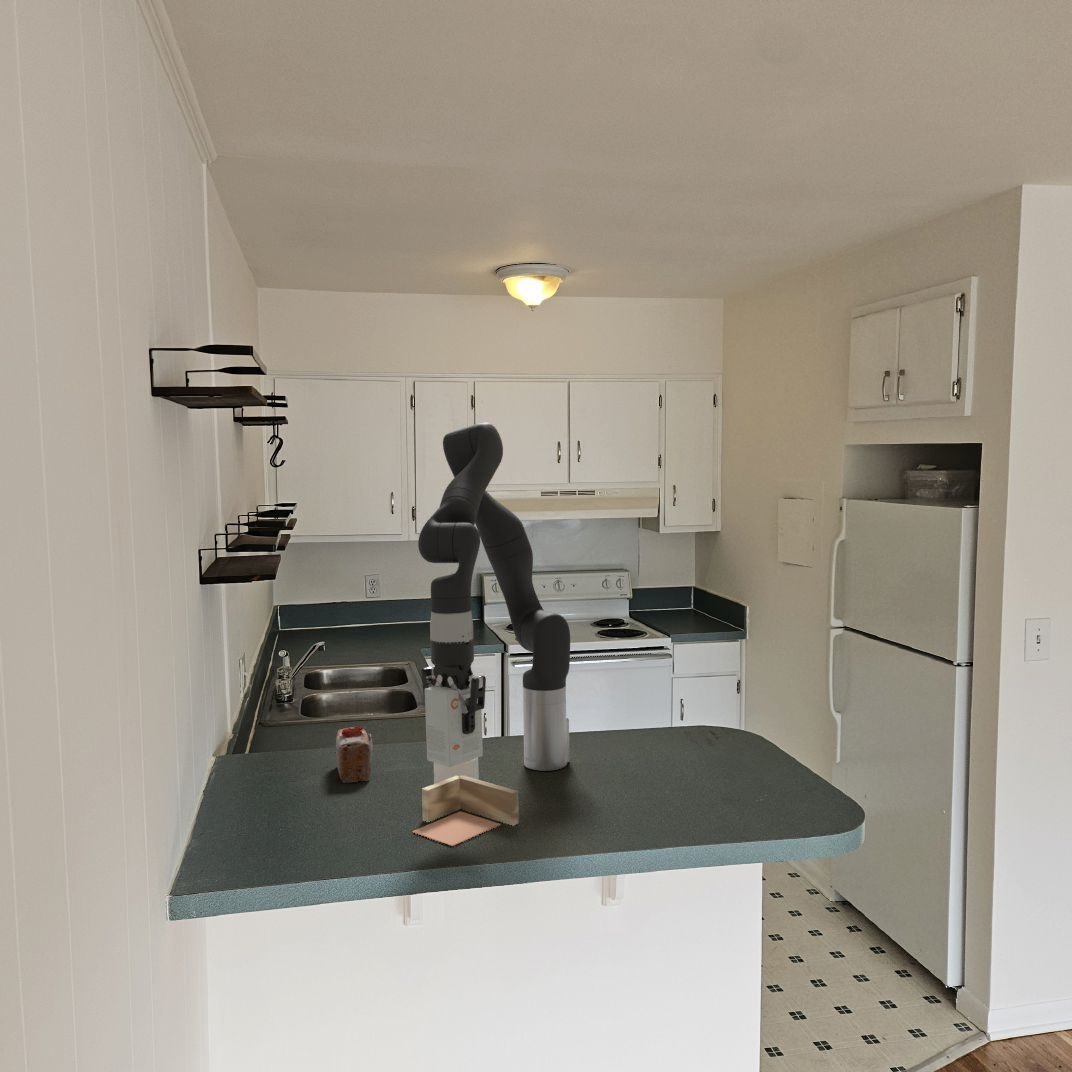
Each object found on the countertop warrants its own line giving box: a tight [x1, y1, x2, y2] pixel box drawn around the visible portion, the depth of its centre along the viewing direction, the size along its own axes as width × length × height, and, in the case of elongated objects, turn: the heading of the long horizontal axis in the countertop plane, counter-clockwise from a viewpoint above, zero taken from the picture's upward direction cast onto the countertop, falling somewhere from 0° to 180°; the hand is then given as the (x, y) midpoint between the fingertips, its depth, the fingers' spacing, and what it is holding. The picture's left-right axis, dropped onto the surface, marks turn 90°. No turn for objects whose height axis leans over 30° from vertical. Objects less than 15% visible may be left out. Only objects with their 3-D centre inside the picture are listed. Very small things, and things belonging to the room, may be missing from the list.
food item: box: [334, 726, 374, 784], centre depth 197 cm, size 14×8×10 cm, turn 15°
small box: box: [424, 686, 484, 767], centre depth 164 cm, size 8×6×13 cm
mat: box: [411, 810, 501, 847], centre depth 165 cm, size 12×10×1 cm
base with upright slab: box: [433, 758, 480, 784], centre depth 188 cm, size 9×9×12 cm
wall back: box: [458, 775, 520, 827], centre depth 171 cm, size 2×14×6 cm, turn 50°
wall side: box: [421, 776, 461, 823], centre depth 172 cm, size 9×2×6 cm, turn 140°
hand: (454, 729), depth 164 cm, fingers closed on small box, 6 cm apart
